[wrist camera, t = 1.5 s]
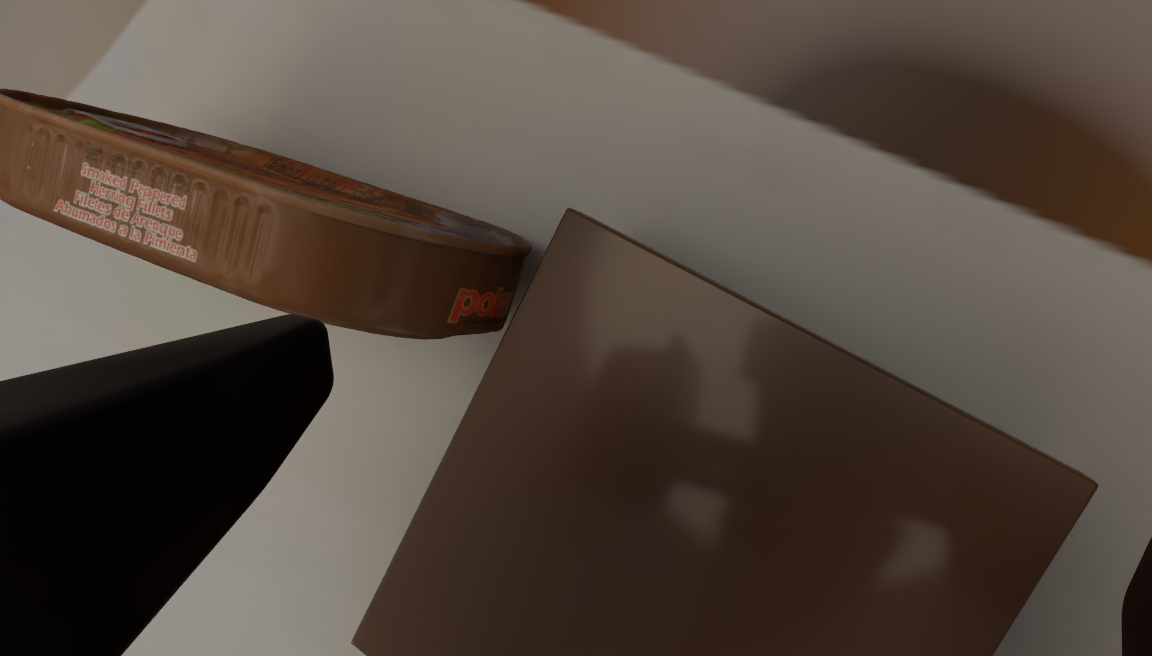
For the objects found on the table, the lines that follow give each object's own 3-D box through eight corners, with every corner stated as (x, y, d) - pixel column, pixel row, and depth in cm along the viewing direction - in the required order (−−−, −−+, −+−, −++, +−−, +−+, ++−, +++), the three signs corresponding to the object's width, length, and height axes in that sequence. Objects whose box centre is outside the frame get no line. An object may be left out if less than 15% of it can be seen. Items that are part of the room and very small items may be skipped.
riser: (1056, 455, 20) (1101, 484, 16) (805, 863, 22) (785, 986, 18) (623, 231, 24) (566, 206, 20) (438, 594, 26) (349, 643, 21)
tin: (580, 252, 24) (431, 207, 16) (546, 358, 25) (383, 364, 17) (183, 123, 29) (-79, 42, 21) (159, 213, 30) (-108, 164, 22)
